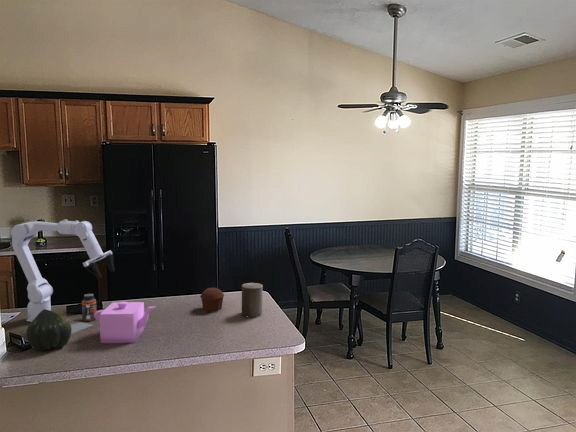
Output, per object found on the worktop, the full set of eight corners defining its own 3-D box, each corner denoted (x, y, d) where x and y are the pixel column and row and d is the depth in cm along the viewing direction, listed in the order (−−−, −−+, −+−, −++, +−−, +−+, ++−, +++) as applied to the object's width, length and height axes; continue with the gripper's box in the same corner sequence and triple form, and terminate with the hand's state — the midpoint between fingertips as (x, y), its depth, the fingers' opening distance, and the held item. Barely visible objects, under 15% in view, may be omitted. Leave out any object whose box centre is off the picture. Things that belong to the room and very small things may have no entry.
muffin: (205, 304, 223) (204, 284, 222) (226, 305, 222) (226, 285, 221) (197, 312, 212) (196, 291, 210) (219, 313, 210) (219, 292, 209)
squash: (65, 340, 164) (67, 302, 172) (19, 346, 160) (23, 307, 168) (73, 353, 176) (74, 317, 184) (30, 359, 172) (33, 322, 180)
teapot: (152, 342, 177) (151, 308, 175) (87, 343, 175) (86, 308, 174) (161, 328, 192) (160, 296, 190) (102, 329, 190) (100, 297, 189)
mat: (36, 331, 188) (36, 330, 188) (67, 320, 201) (67, 319, 201) (62, 337, 181) (62, 336, 181) (93, 325, 194) (93, 324, 194)
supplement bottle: (91, 322, 199) (90, 297, 197) (79, 321, 200) (78, 296, 198) (99, 317, 204) (98, 293, 203) (88, 316, 206) (86, 292, 204)
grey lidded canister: (243, 318, 204) (243, 286, 202) (240, 311, 213) (240, 280, 211) (264, 316, 206) (264, 285, 204) (260, 310, 215) (260, 279, 214)
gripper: (84, 250, 188) (99, 279, 190) (110, 239, 201) (124, 266, 202) (74, 255, 192) (89, 283, 193) (100, 243, 204) (114, 270, 206)
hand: (106, 275), depth 198 cm, fingers open, 7 cm apart
